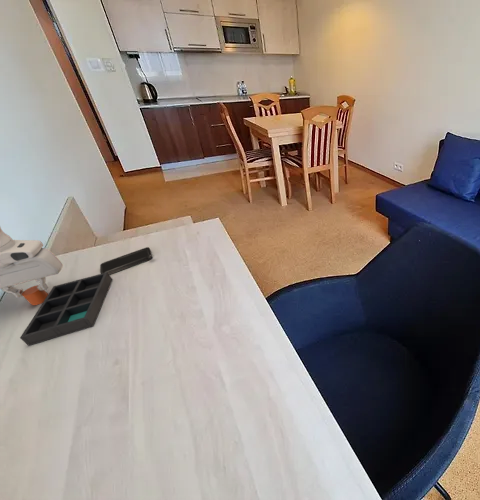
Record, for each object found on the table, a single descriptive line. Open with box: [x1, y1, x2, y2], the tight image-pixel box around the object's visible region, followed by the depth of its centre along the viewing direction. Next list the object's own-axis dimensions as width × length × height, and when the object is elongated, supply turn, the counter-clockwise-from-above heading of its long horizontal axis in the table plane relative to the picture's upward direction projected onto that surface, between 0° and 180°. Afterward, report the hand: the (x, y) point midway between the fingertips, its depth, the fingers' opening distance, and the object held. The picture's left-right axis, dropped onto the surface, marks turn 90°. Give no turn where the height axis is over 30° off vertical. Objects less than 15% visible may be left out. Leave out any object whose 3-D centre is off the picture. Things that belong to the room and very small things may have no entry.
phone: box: [99, 246, 153, 276], centre depth 103 cm, size 8×1×15 cm
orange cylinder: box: [22, 284, 49, 306], centre depth 90 cm, size 4×4×4 cm
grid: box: [19, 272, 114, 347], centre depth 85 cm, size 14×21×3 cm
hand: (33, 292), depth 89 cm, fingers closed on orange cylinder, 4 cm apart
